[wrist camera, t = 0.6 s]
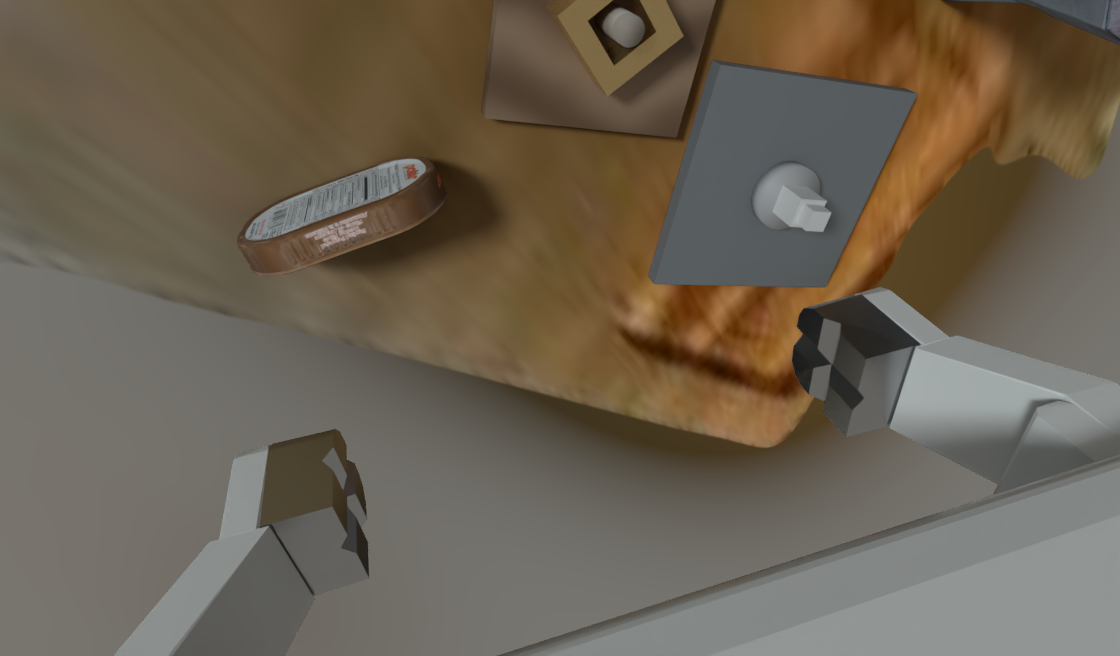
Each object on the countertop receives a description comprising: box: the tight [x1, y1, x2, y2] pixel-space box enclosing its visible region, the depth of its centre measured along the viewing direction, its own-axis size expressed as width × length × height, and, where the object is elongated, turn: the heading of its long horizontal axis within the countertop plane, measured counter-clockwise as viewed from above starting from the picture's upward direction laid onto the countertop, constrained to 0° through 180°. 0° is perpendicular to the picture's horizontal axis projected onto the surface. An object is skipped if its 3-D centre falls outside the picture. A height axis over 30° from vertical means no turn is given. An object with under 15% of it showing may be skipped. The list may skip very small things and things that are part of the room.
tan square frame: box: [546, 0, 683, 97], centre depth 45 cm, size 7×7×3 cm
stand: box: [481, 0, 716, 138], centre depth 45 cm, size 16×16×6 cm
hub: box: [648, 60, 917, 287], centre depth 57 cm, size 20×20×8 cm
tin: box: [237, 157, 448, 276], centre depth 46 cm, size 15×3×8 cm, turn 105°
